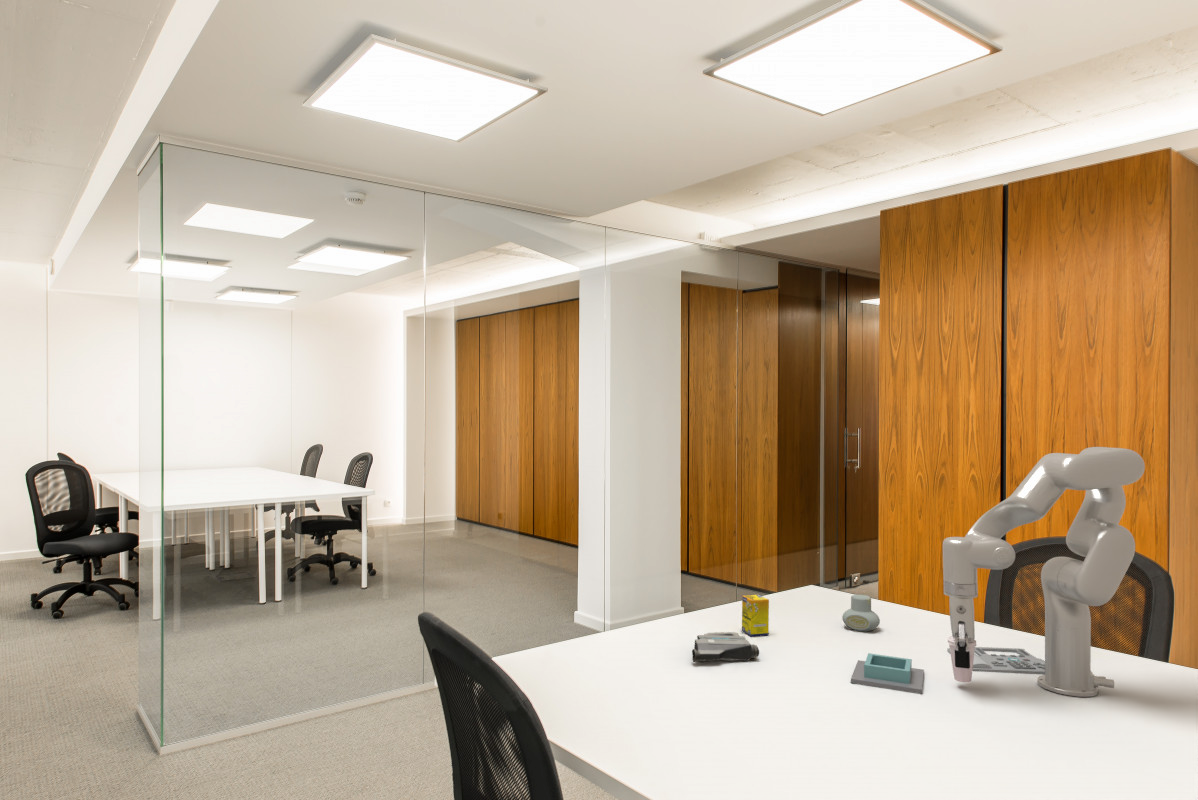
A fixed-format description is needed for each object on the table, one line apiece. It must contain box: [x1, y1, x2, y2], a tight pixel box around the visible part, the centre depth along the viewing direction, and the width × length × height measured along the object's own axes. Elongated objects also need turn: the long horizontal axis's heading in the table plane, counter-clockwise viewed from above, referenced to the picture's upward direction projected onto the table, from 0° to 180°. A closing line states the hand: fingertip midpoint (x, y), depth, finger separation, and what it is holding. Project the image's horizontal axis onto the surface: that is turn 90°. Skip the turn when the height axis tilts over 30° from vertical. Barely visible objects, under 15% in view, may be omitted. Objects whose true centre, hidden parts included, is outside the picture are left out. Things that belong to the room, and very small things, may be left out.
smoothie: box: [947, 622, 977, 683], centre depth 184 cm, size 6×6×14 cm
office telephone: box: [947, 646, 1045, 675], centre depth 205 cm, size 23×3×20 cm
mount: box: [850, 653, 925, 695], centre depth 190 cm, size 16×16×4 cm
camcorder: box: [691, 631, 760, 663], centre depth 206 cm, size 16×20×5 cm
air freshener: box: [841, 594, 881, 633], centre depth 234 cm, size 11×8×10 cm
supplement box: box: [741, 594, 770, 638], centre depth 227 cm, size 6×6×11 cm
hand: (962, 662), depth 184 cm, fingers closed on smoothie, 6 cm apart
